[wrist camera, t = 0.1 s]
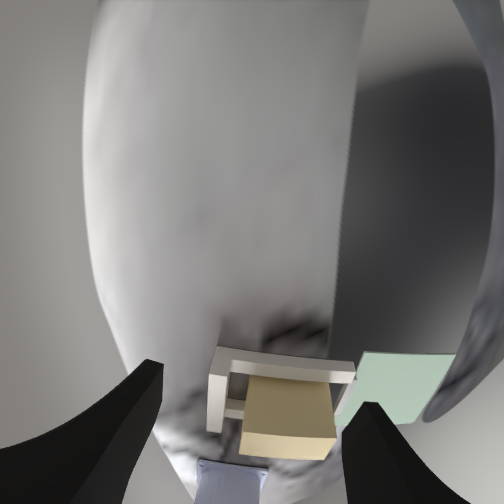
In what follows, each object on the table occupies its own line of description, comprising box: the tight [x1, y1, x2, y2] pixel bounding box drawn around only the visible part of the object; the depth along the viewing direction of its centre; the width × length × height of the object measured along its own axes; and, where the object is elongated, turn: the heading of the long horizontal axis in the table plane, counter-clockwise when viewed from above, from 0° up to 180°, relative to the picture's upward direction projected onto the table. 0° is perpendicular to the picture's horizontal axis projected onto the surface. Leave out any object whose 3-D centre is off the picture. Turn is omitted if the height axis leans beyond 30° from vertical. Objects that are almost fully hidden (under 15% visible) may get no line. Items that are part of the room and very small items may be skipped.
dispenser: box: [206, 346, 357, 433], centre depth 21 cm, size 7×11×3 cm, turn 83°
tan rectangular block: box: [239, 374, 337, 460], centre depth 19 cm, size 3×6×6 cm, turn 83°
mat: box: [334, 351, 456, 426], centre depth 22 cm, size 9×9×1 cm
